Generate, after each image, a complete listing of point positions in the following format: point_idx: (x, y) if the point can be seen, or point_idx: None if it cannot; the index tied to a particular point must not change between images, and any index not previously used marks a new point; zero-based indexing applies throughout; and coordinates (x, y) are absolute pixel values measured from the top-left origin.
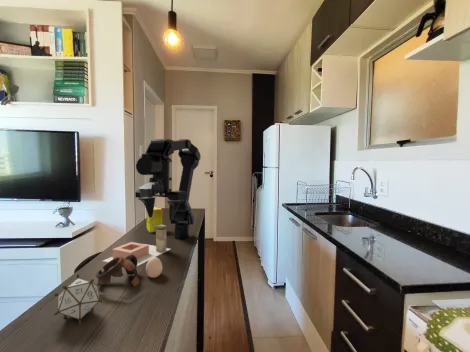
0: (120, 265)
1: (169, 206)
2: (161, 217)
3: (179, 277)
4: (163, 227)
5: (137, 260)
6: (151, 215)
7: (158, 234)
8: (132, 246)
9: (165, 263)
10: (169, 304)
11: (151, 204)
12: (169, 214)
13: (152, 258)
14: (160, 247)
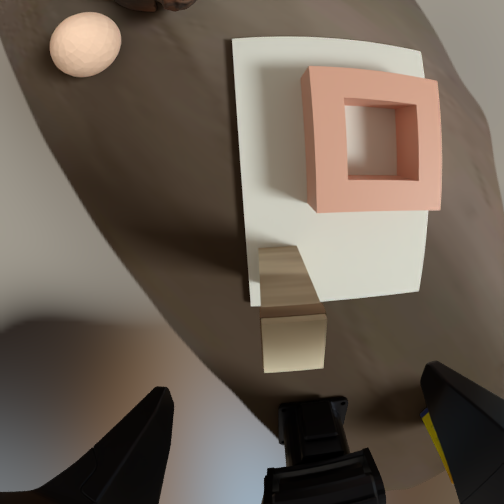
0: None
1: (93, 497)
2: (443, 455)
3: (36, 112)
4: (261, 339)
5: (287, 107)
6: (427, 388)
7: (290, 289)
8: (405, 179)
9: (152, 164)
10: (2, 21)
11: (477, 474)
12: (143, 423)
13: (64, 25)
14: (267, 256)
